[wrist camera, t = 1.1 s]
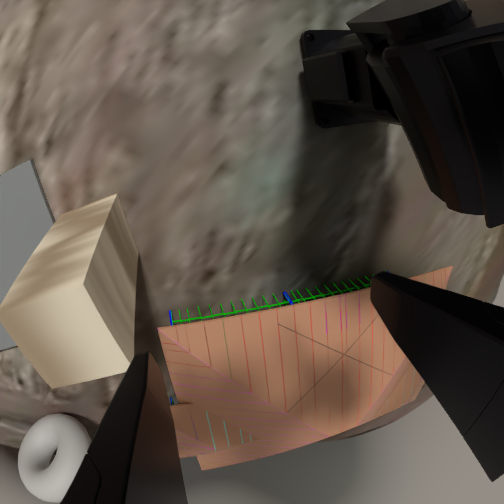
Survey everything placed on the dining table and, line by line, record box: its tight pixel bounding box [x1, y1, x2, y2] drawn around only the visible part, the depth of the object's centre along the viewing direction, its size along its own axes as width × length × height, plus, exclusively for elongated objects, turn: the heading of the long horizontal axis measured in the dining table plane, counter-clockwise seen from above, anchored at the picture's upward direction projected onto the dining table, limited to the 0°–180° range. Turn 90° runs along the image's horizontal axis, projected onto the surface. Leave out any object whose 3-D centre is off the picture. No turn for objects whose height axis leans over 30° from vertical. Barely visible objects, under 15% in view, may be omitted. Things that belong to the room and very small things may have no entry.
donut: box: [18, 413, 91, 503], centre depth 19 cm, size 10×4×10 cm, turn 111°
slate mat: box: [0, 159, 55, 350], centre depth 16 cm, size 12×12×1 cm
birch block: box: [0, 194, 139, 388], centre depth 13 cm, size 4×4×10 cm
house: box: [157, 266, 452, 470], centre depth 26 cm, size 23×33×8 cm
